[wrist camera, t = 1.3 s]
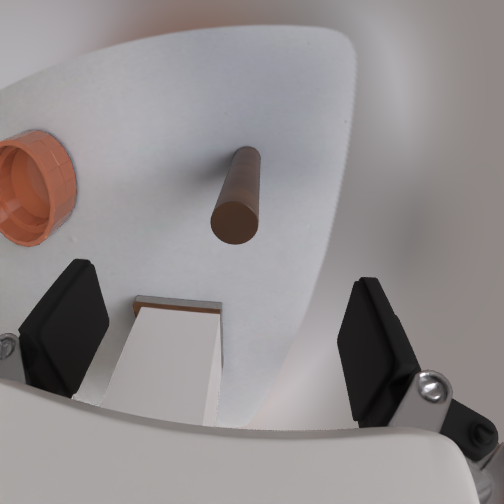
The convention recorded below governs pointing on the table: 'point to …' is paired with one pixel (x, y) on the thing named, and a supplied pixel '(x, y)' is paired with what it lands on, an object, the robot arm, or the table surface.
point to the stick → (239, 199)
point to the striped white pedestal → (170, 362)
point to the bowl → (34, 187)
